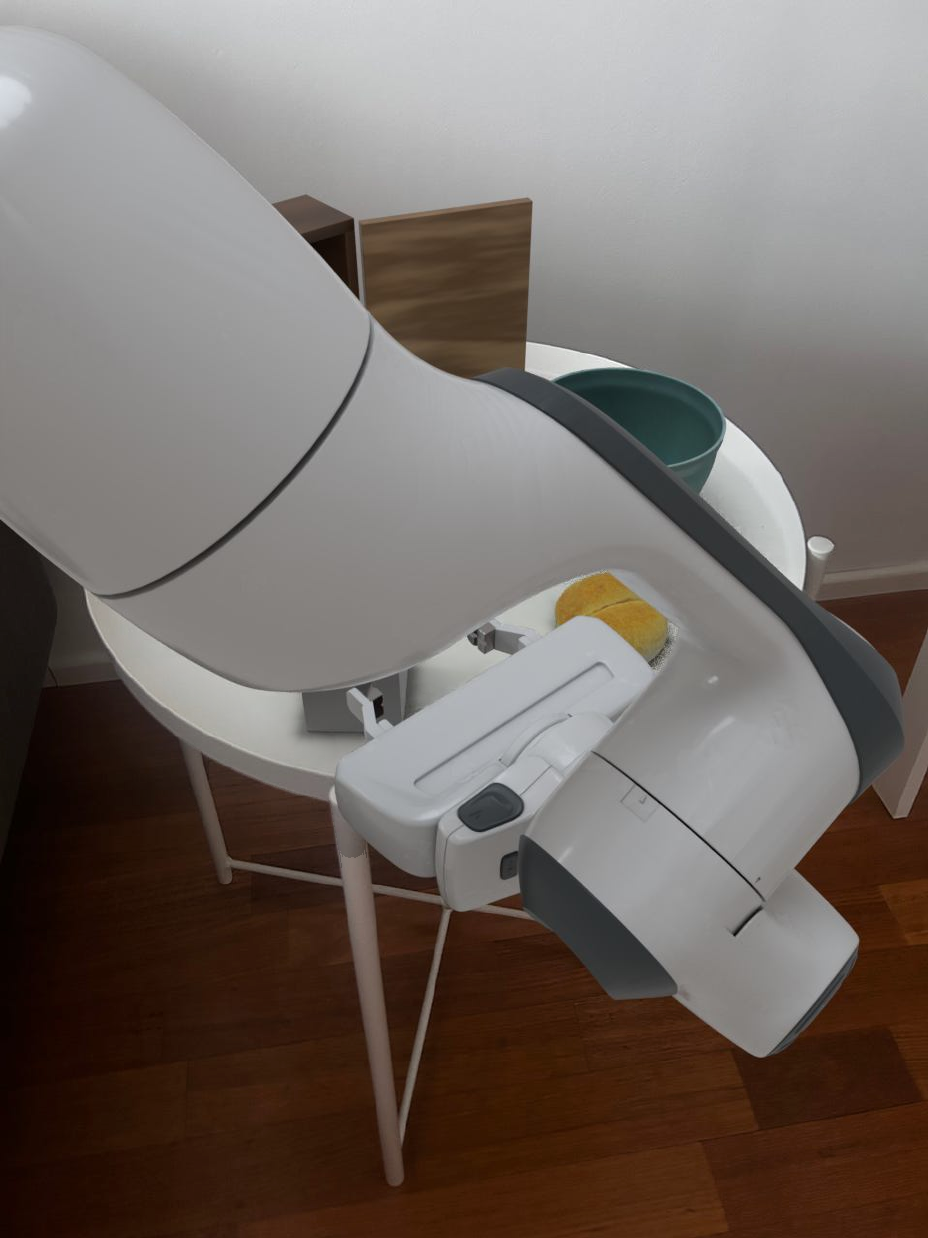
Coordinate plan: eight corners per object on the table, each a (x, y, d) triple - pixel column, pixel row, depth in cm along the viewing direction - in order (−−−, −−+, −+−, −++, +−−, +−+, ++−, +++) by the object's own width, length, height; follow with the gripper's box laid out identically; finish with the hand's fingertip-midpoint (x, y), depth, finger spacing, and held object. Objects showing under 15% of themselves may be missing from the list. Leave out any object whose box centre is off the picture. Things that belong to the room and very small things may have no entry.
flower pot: (625, 451, 98) (638, 348, 91) (743, 536, 88) (769, 429, 81) (487, 503, 92) (489, 397, 84) (598, 602, 82) (611, 491, 74)
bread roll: (590, 686, 75) (595, 647, 72) (541, 611, 81) (543, 572, 78) (688, 658, 77) (696, 619, 74) (632, 587, 83) (638, 549, 80)
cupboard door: (359, 430, 101) (341, 198, 85) (499, 403, 105) (505, 177, 89) (377, 462, 96) (361, 224, 81) (522, 433, 100) (532, 200, 85)
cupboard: (371, 457, 97) (354, 217, 82) (236, 517, 90) (189, 266, 75) (330, 428, 101) (306, 193, 86) (197, 483, 94) (145, 238, 79)
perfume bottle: (402, 732, 71) (390, 529, 59) (307, 731, 71) (275, 527, 59) (408, 665, 76) (398, 465, 64) (319, 664, 76) (292, 463, 64)
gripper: (707, 666, 58) (541, 551, 66) (430, 861, 48) (274, 698, 56) (689, 739, 62) (536, 623, 70) (432, 931, 53) (287, 771, 60)
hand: (417, 657), depth 63 cm, fingers open, 8 cm apart
